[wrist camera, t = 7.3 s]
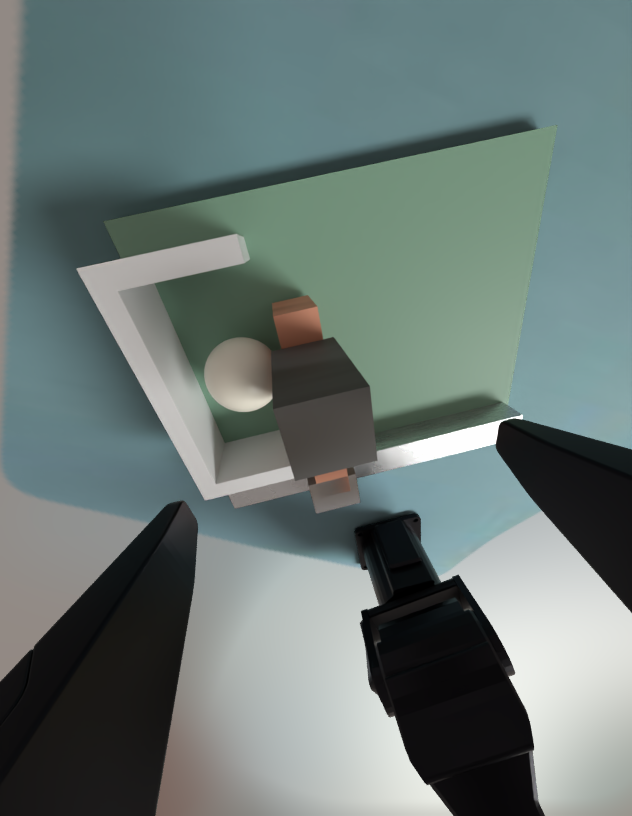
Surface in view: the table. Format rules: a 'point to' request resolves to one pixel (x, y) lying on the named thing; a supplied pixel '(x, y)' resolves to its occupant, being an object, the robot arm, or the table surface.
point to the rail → (407, 447)
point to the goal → (181, 364)
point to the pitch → (371, 273)
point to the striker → (320, 406)
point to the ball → (240, 374)
